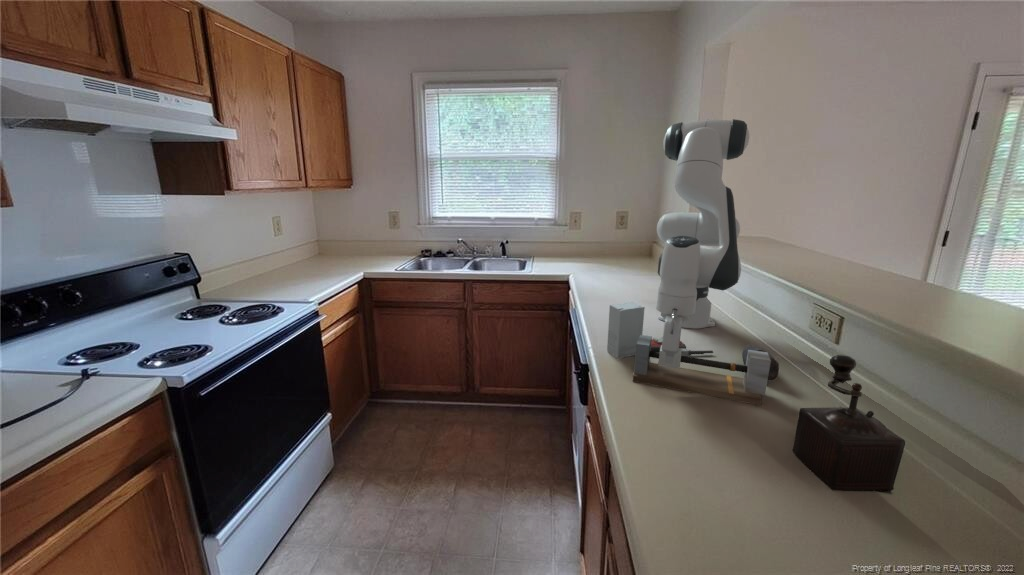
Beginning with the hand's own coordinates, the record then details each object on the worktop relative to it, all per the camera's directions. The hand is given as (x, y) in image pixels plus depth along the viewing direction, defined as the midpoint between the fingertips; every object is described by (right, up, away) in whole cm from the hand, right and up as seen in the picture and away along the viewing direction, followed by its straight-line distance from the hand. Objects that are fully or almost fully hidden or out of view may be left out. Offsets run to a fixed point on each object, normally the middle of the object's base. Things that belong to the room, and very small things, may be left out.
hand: (670, 356), depth 104 cm
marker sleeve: (0, -2, +1) cm, 2 cm away
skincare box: (-7, -2, +17) cm, 19 cm away
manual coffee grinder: (+18, -14, -29) cm, 37 cm away
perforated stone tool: (+25, -5, +6) cm, 26 cm away
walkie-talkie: (+9, -2, +19) cm, 21 cm away
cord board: (+5, -7, -1) cm, 9 cm away
